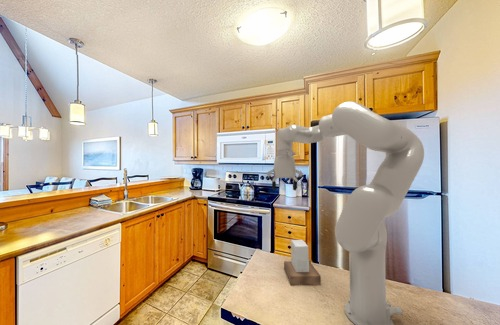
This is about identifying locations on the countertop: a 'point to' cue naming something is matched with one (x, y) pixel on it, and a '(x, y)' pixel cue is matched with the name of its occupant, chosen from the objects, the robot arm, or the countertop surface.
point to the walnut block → (302, 275)
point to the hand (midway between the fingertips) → (284, 190)
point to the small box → (300, 256)
